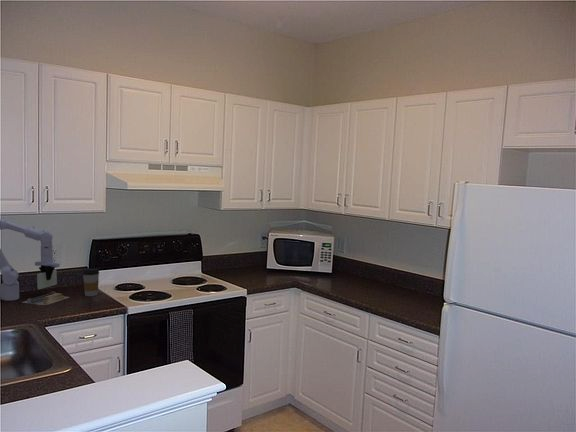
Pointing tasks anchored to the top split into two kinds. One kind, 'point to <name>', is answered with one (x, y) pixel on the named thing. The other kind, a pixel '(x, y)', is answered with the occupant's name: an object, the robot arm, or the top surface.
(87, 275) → the coffee cup
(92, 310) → the top surface
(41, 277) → the sheet
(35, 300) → the rack
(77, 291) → the top surface
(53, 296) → the offcut upper
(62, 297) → the offcut lower
